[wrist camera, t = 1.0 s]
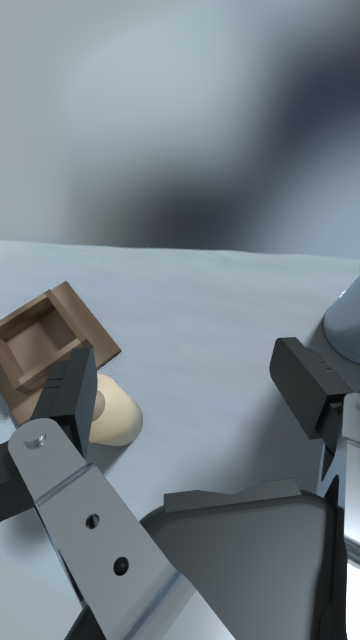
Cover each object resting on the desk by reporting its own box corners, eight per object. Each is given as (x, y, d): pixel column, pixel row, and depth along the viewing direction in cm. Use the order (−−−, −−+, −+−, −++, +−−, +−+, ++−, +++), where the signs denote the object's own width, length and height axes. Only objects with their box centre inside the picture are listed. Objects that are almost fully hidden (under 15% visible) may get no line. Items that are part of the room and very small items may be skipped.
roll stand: (67, 283, 41) (57, 268, 37) (121, 351, 36) (114, 340, 32) (-24, 340, 37) (-45, 329, 34) (21, 426, 32) (3, 422, 29)
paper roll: (126, 389, 33) (98, 360, 23) (152, 424, 31) (134, 408, 22) (89, 418, 32) (43, 401, 22) (114, 457, 30) (77, 456, 20)
